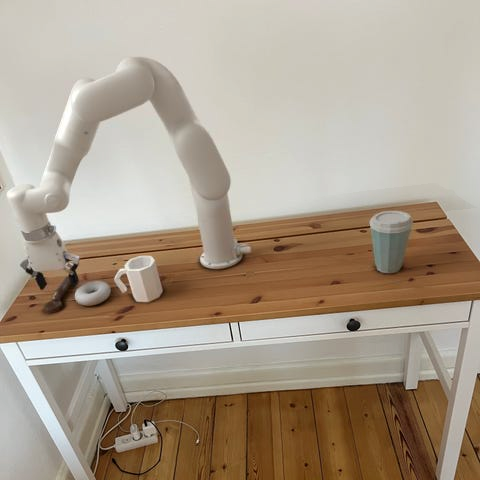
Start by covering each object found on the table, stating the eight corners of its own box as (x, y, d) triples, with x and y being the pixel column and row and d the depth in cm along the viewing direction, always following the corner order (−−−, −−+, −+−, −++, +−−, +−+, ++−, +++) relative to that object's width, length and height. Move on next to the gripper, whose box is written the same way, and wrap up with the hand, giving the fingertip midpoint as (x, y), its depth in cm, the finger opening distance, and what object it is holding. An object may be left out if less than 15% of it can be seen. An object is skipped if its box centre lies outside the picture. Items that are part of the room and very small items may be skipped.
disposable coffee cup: (362, 263, 147) (362, 212, 138) (398, 254, 148) (400, 203, 139) (379, 281, 138) (380, 228, 129) (418, 271, 139) (421, 218, 131)
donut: (97, 310, 145) (119, 290, 152) (93, 300, 143) (115, 280, 150) (69, 305, 149) (91, 286, 156) (65, 295, 147) (88, 276, 154)
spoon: (63, 282, 161) (60, 275, 159) (78, 281, 160) (76, 274, 159) (42, 313, 148) (39, 306, 146) (59, 312, 147) (56, 305, 146)
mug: (162, 283, 152) (155, 253, 147) (162, 299, 145) (154, 268, 139) (121, 291, 152) (111, 260, 146) (118, 307, 145) (108, 276, 139)
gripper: (72, 222, 144) (92, 276, 154) (13, 228, 147) (36, 281, 156) (62, 234, 138) (84, 290, 148) (1, 241, 140) (26, 295, 150)
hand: (59, 285), depth 152 cm, fingers open, 9 cm apart
